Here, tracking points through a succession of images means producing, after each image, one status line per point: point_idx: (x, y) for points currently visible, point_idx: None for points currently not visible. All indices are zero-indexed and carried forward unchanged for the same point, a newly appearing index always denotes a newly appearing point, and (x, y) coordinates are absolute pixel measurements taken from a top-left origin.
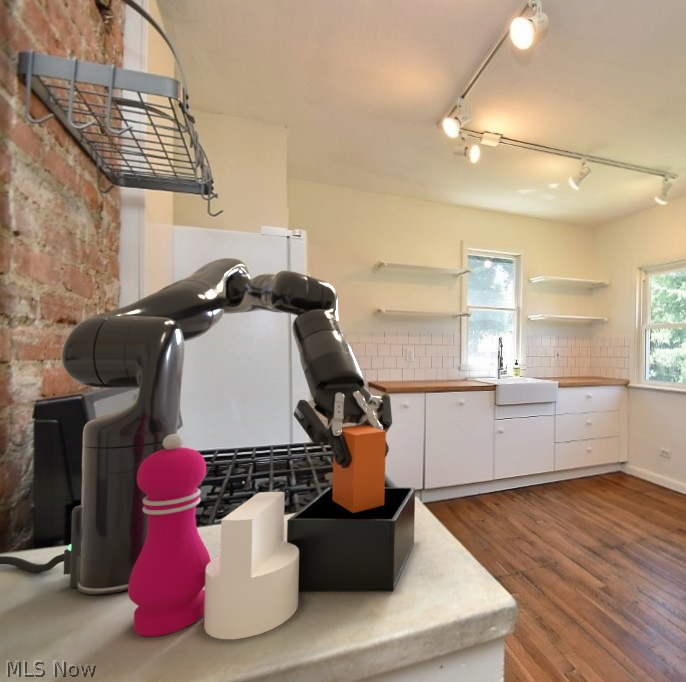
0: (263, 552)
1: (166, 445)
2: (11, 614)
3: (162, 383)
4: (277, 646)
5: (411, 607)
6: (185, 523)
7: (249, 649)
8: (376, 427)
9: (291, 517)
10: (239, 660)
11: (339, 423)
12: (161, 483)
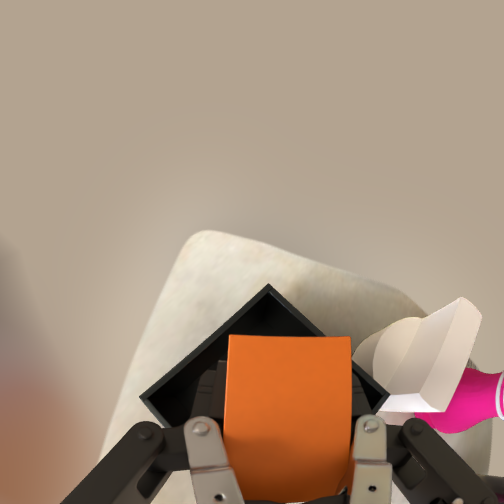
0: (418, 339)
1: None
2: (488, 463)
3: None
4: (379, 305)
5: (265, 275)
6: (491, 378)
7: (396, 316)
8: (210, 428)
9: (383, 402)
10: (403, 307)
11: (363, 454)
12: None
